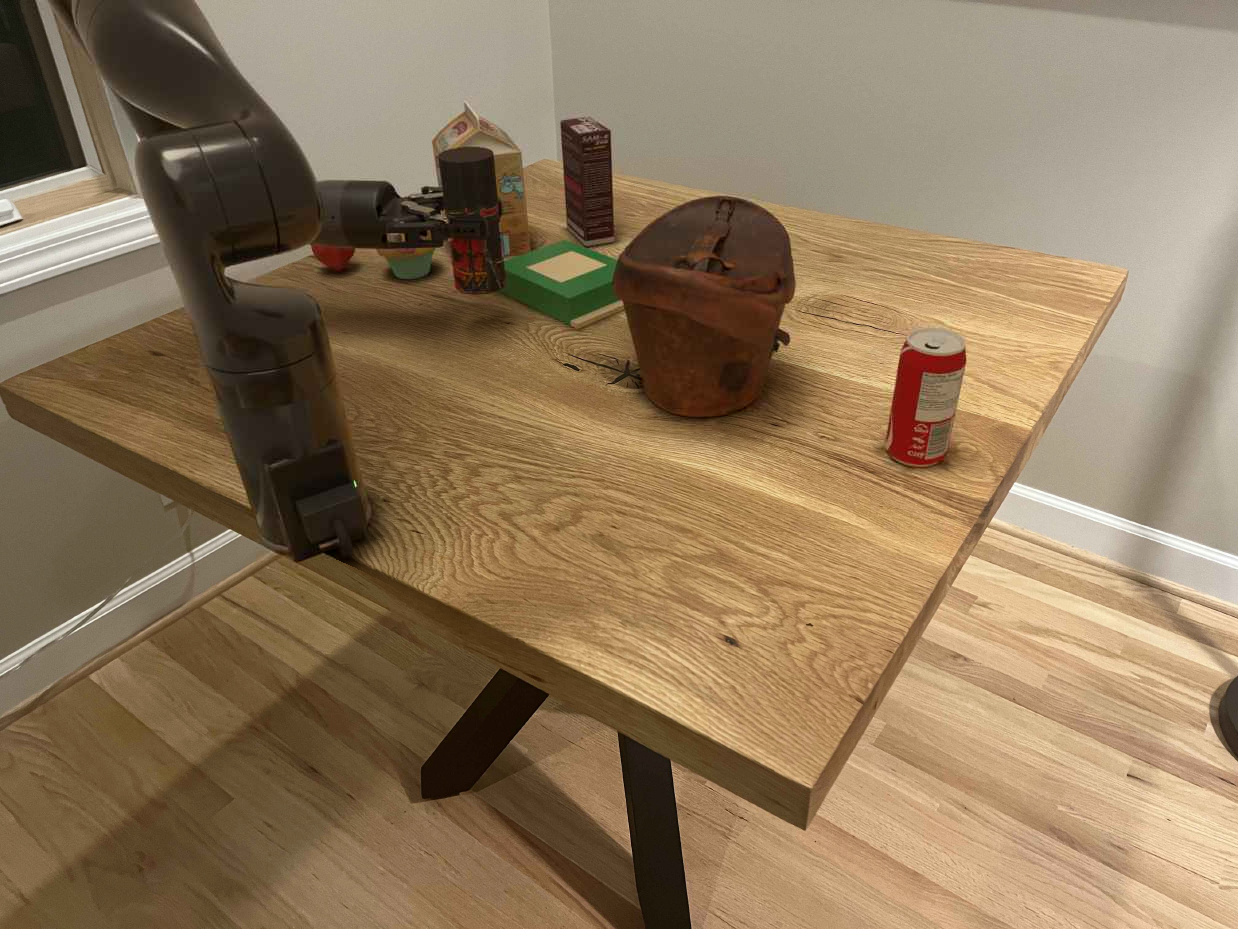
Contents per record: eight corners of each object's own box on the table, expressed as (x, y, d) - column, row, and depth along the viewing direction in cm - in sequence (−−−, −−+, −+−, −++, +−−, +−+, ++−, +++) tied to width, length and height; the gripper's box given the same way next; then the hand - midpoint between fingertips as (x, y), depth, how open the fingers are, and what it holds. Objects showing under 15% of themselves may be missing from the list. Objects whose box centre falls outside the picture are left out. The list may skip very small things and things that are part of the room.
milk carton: (446, 237, 135) (426, 104, 124) (515, 228, 137) (502, 96, 126) (457, 263, 126) (437, 122, 115) (530, 252, 129) (517, 113, 118)
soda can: (900, 430, 87) (919, 317, 80) (955, 449, 84) (980, 333, 78) (874, 456, 84) (892, 340, 77) (930, 476, 81) (954, 358, 74)
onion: (308, 274, 125) (294, 217, 120) (337, 259, 129) (324, 204, 124) (340, 281, 122) (327, 223, 118) (368, 266, 126) (357, 210, 122)
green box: (649, 298, 114) (649, 271, 112) (577, 329, 108) (575, 300, 106) (560, 262, 125) (558, 236, 123) (490, 287, 119) (487, 261, 117)
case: (648, 454, 85) (645, 276, 75) (596, 360, 101) (588, 202, 91) (822, 422, 89) (841, 248, 79) (745, 336, 105) (753, 182, 95)
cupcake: (429, 286, 120) (414, 197, 113) (369, 283, 121) (351, 195, 114) (451, 261, 127) (439, 176, 120) (395, 259, 128) (379, 174, 121)
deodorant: (449, 279, 107) (431, 151, 98) (496, 270, 109) (483, 143, 100) (463, 298, 103) (446, 165, 94) (513, 288, 105) (500, 157, 96)
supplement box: (616, 242, 131) (612, 129, 122) (585, 248, 129) (578, 134, 120) (595, 223, 137) (590, 115, 128) (565, 228, 136) (558, 119, 127)
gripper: (319, 203, 95) (474, 206, 93) (367, 162, 107) (506, 165, 105) (333, 270, 99) (482, 275, 97) (378, 224, 111) (512, 227, 109)
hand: (494, 218), depth 101 cm, fingers closed on deodorant, 6 cm apart
